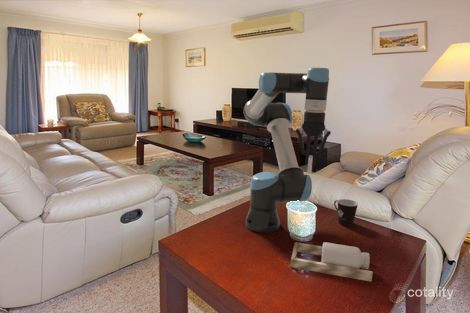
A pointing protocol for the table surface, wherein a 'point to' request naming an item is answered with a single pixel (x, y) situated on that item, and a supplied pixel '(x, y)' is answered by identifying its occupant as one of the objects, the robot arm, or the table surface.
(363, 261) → the pill bottle
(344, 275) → the cradle
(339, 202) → the coffee mug
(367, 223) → the table surface
